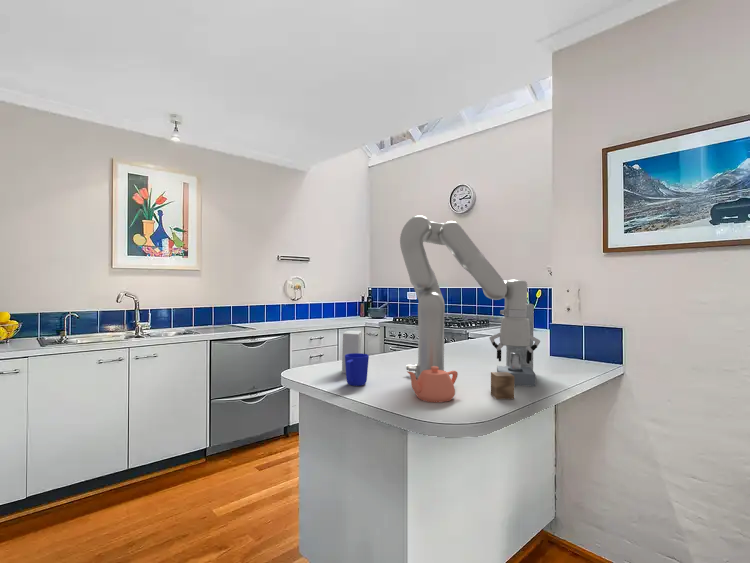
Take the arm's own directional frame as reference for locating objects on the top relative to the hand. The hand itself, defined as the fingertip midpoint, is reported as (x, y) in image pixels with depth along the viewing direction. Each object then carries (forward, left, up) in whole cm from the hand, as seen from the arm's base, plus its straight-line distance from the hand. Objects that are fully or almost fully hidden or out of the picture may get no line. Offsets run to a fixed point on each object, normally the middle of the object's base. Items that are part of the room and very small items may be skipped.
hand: (513, 361), depth 148 cm
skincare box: (-60, 0, -7) cm, 61 cm away
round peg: (+1, 0, -7) cm, 7 cm away
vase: (+4, +15, -7) cm, 17 cm away
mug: (-53, -21, -7) cm, 58 cm away
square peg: (-5, -22, -7) cm, 24 cm away
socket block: (+1, 0, -7) cm, 7 cm away
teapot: (-26, -29, -7) cm, 40 cm away
